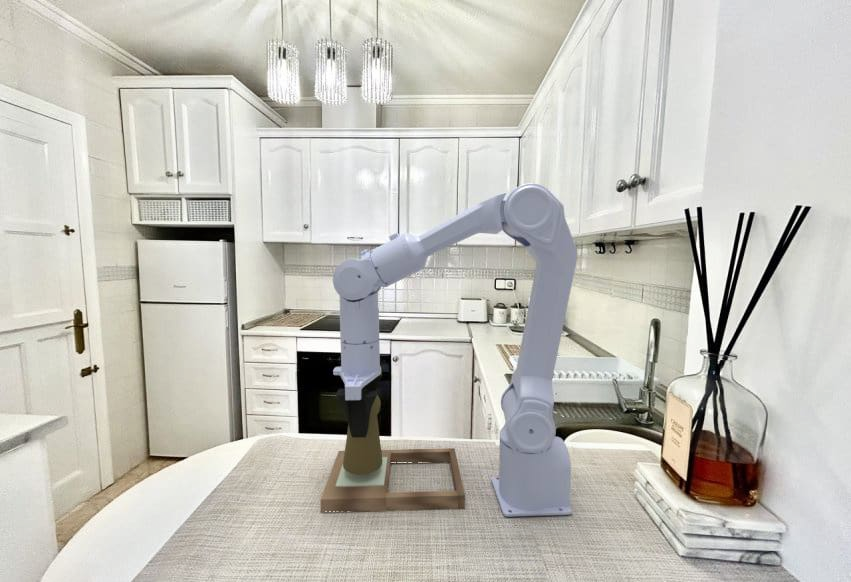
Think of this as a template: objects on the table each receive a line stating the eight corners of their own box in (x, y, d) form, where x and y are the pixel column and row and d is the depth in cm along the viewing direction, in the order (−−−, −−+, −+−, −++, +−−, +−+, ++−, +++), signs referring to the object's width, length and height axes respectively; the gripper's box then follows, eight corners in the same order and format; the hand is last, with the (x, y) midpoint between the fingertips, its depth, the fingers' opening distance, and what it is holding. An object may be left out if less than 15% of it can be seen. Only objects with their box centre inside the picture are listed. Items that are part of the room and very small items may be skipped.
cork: (376, 476, 50) (377, 403, 49) (336, 472, 51) (336, 400, 50) (386, 454, 56) (387, 388, 55) (350, 450, 57) (351, 385, 56)
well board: (454, 459, 61) (454, 447, 60) (464, 508, 49) (464, 493, 49) (339, 462, 60) (338, 449, 60) (320, 512, 48) (320, 498, 48)
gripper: (342, 329, 59) (345, 406, 60) (320, 353, 45) (323, 454, 46) (384, 329, 59) (385, 406, 61) (375, 352, 45) (377, 452, 46)
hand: (362, 426), depth 53 cm, fingers closed on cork, 5 cm apart
